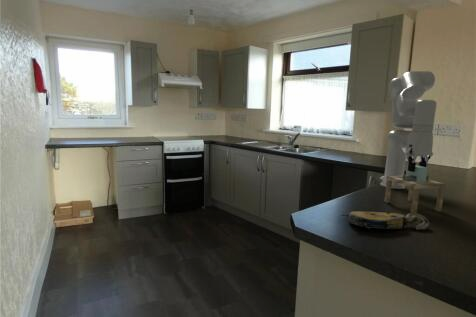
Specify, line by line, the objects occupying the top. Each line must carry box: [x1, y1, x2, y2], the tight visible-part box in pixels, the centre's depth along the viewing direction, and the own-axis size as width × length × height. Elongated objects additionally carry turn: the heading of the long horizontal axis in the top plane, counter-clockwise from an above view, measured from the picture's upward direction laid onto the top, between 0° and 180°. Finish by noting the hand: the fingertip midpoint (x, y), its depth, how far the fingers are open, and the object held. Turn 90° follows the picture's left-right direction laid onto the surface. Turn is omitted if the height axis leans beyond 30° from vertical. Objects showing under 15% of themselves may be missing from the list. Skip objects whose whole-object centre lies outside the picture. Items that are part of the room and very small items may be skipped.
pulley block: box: [340, 210, 431, 231], centre depth 107 cm, size 14×6×30 cm
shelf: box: [383, 174, 446, 213], centre depth 131 cm, size 16×15×14 cm
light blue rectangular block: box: [405, 164, 429, 183], centre depth 130 cm, size 7×4×8 cm, turn 17°
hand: (416, 170), depth 130 cm, fingers open, 5 cm apart
